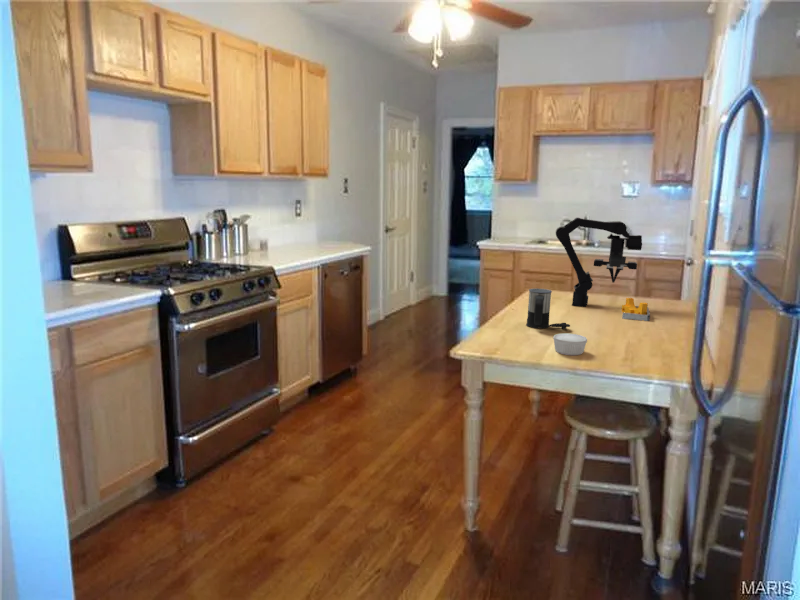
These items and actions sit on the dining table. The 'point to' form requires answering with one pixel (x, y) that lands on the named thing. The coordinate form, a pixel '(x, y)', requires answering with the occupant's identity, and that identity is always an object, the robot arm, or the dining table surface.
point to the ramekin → (569, 343)
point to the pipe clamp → (632, 309)
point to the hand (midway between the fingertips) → (613, 282)
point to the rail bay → (637, 316)
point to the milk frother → (540, 309)
